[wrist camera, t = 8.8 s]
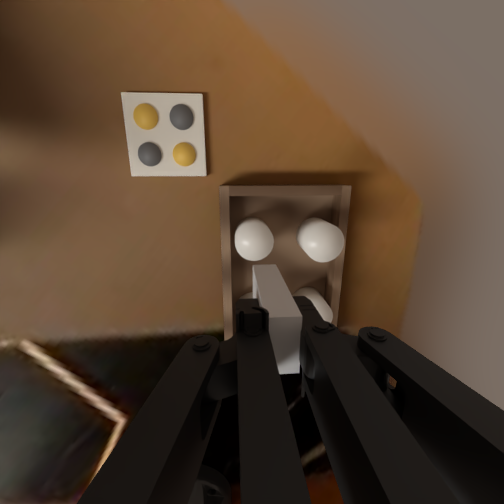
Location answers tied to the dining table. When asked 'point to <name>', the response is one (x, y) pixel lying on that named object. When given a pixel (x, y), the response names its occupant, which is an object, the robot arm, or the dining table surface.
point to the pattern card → (165, 133)
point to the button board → (281, 239)
